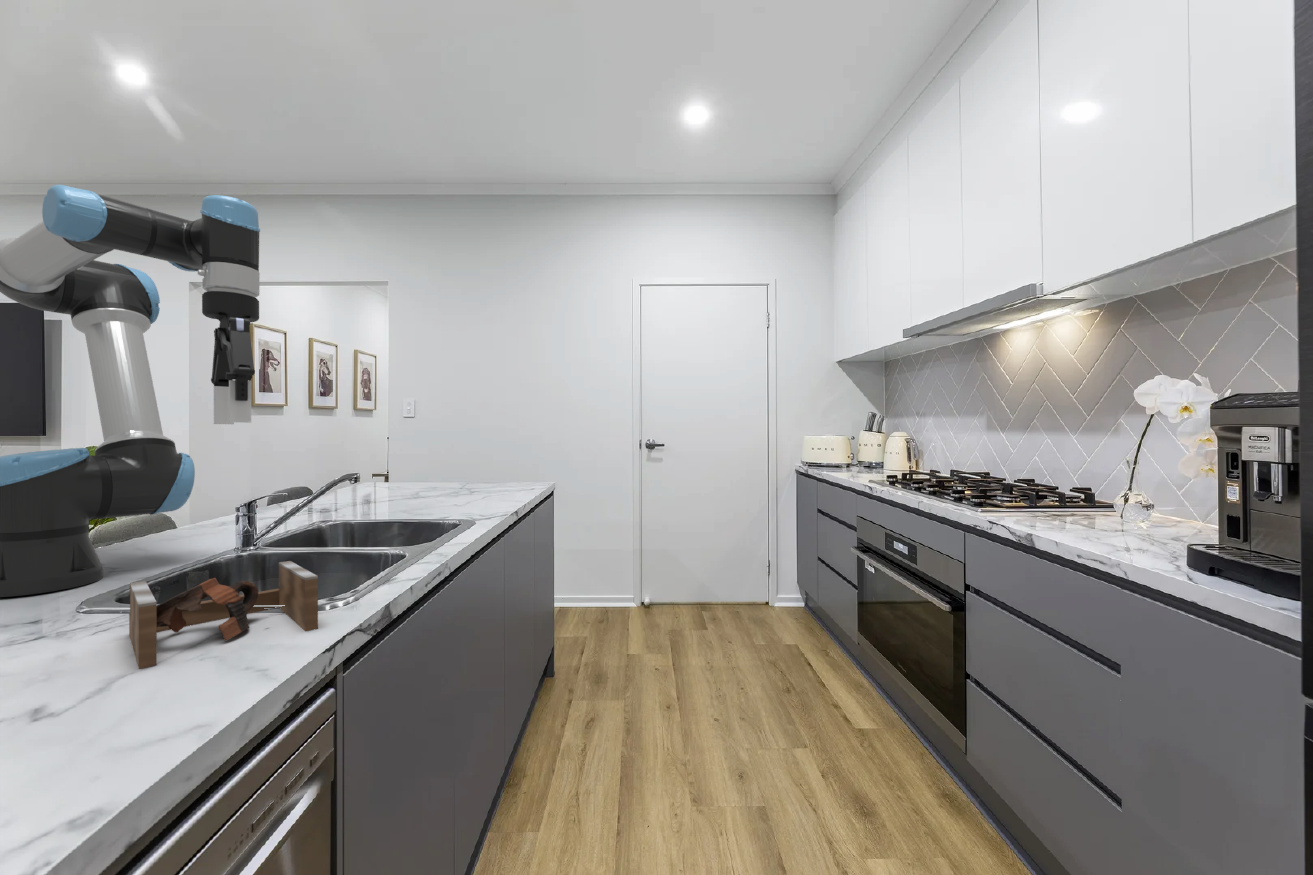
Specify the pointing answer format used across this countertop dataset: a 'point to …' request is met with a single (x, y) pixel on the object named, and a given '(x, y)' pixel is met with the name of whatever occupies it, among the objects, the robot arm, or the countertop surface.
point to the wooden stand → (223, 609)
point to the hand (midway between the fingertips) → (231, 423)
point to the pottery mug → (221, 594)
